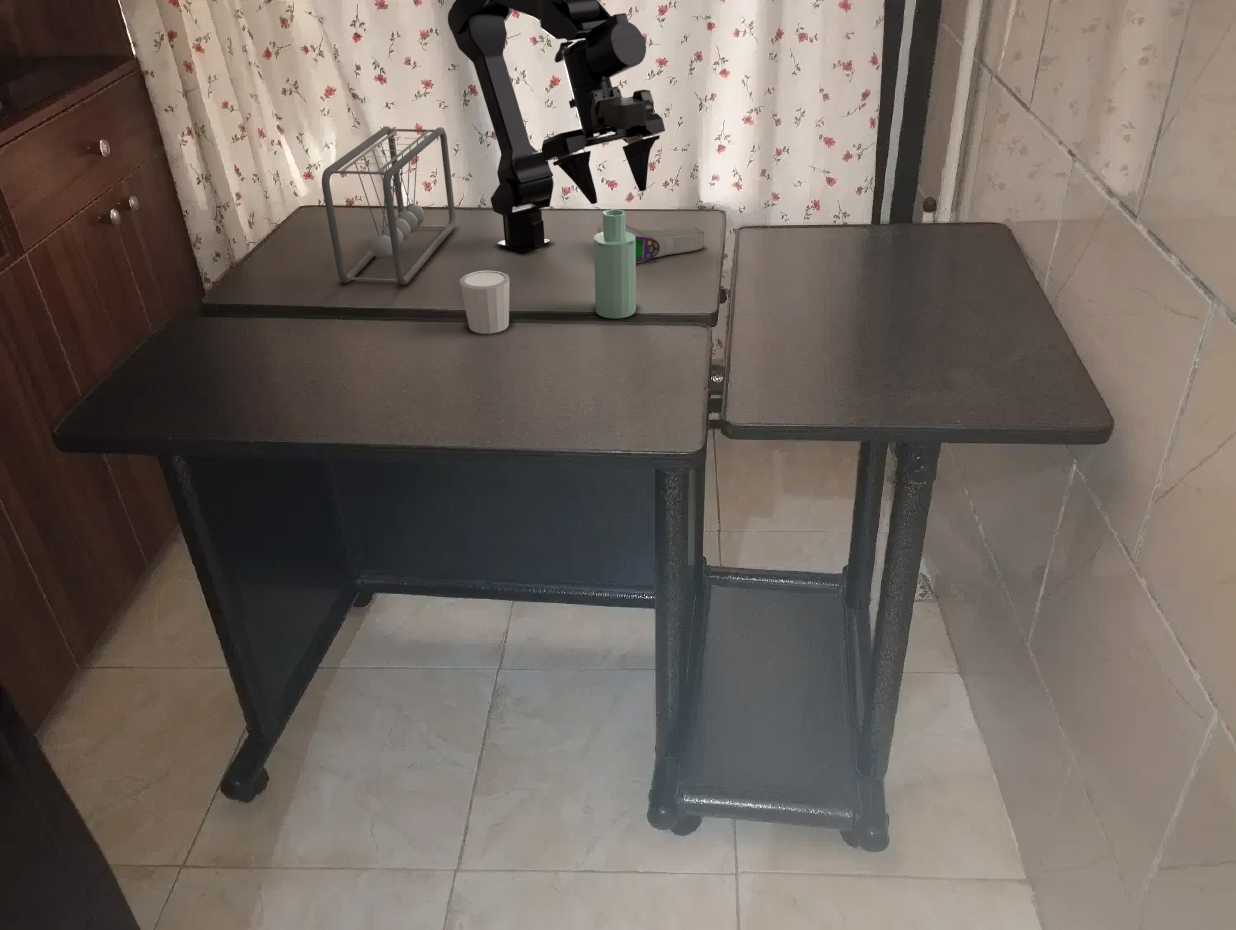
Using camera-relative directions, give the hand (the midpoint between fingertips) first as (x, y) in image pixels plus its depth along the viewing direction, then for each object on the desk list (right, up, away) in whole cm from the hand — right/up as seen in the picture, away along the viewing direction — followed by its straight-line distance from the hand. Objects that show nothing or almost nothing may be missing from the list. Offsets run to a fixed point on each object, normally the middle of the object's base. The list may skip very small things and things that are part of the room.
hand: (619, 197), depth 139 cm
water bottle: (-1, -16, 0) cm, 16 cm away
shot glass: (-19, -19, -3) cm, 27 cm away
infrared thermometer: (+5, -2, +23) cm, 23 cm away
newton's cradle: (-36, -4, +21) cm, 42 cm away
